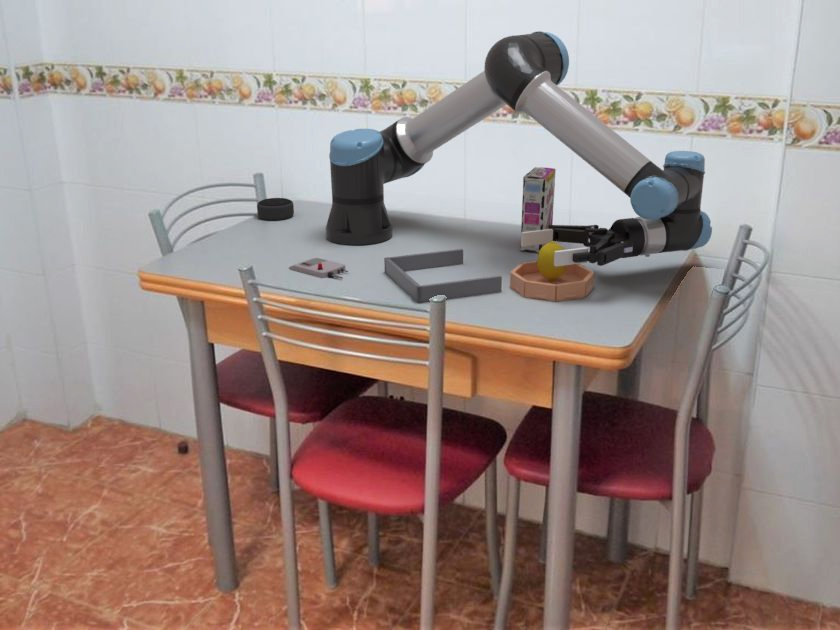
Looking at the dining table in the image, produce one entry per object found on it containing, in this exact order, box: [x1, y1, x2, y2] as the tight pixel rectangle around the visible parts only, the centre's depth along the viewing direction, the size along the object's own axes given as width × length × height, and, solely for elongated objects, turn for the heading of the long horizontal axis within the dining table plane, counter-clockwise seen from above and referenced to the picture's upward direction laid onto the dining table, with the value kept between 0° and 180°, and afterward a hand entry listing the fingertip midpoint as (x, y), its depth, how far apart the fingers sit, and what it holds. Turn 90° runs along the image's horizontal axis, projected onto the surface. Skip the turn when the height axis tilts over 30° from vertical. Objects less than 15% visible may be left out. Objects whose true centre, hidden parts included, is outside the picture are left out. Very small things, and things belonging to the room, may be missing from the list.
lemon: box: [536, 241, 567, 282], centre depth 176 cm, size 6×6×8 cm
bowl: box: [509, 260, 595, 302], centre depth 177 cm, size 15×15×3 cm
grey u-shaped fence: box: [383, 248, 503, 304], centre depth 181 cm, size 20×17×3 cm
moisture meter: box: [288, 257, 349, 280], centre depth 189 cm, size 7×16×3 cm, turn 51°
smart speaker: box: [256, 197, 295, 221], centre depth 229 cm, size 9×9×4 cm
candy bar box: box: [519, 166, 557, 254], centre depth 201 cm, size 11×5×16 cm, turn 161°
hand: (537, 248), depth 174 cm, fingers open, 13 cm apart
